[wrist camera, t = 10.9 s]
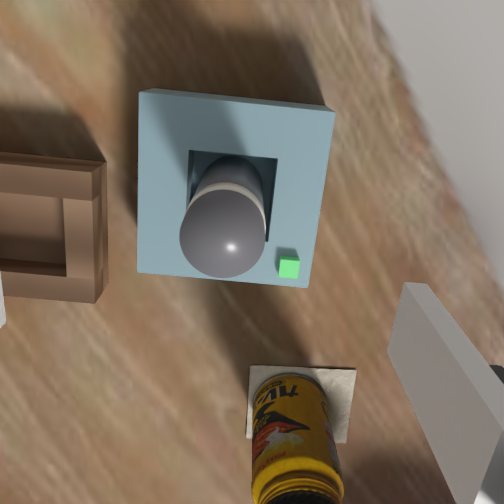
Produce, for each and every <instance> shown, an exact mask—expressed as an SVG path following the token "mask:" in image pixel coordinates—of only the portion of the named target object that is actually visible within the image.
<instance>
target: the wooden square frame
mask: <svg viewBox="0 0 504 504" xmlns="http://www.w3.org/2000/svg"><path fill="white" fill-rule="evenodd" d="M0 273H1V281H2V290H3V296H14V297H25V298H37V299H48V300H59V301H70V302H82V303H93V304H95V303H96V301H97V300H98V298H99V297H100V295H101V294H102V292H103V291H104V289H105V287H106V286H107V284H108V228H107V162H102V161H92V160H82V159H71V158H61V157H51V156H41V155H31V154H21V153H10V152H0Z"/></svg>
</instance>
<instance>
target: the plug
mask: <svg viewBox="0 0 504 504" xmlns="http://www.w3.org/2000/svg"><path fill="white" fill-rule="evenodd" d="M265 233H266V224H265V214H264V207H263V190H262V180H261V176H260V174H259V172H258V170H257V169H256V167H255V166H254V165H253V164H252V163H251V162H249V161H248V160H246V159H244V158H241V157H238V156H225V157H221V158H219V159H217V160H215V161H214V162H212V163H211V164H210V165H209V166H208V167H207V169H206V170H205V172H204V174H203V177H202V179H201V181H200V183H199V186H198V188H197V190H196V192H195V194H194V197H193V198H192V200H191V202H190V203H189V205H188V208H187V210H186V212H185V215H184V218H183V222H182V224H181V227H180V233H179V241H180V246H181V250H182V252H183V254H184V256H185V258H186V259H187V261H188V262H189V263H190V264H191V265H192V266H193V267H194V268H195V269H197V270H198V271H200V272H202V273H203V274H206V275H208V276H212V277H216V278H231V277H235V276H238V275H241V274H243V273H245V272H247V271H248V270H250V269H251V268H252V267H253V266H254V265H255V264H256V263H257V262H258V260H259V259H260V257H261V255H262V253H263V250H264V246H265Z"/></svg>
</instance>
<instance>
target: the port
mask: <svg viewBox="0 0 504 504" xmlns="http://www.w3.org/2000/svg"><path fill="white" fill-rule="evenodd" d="M335 113H336V112H335V111H333V110H331V109H330V108H328V107H327V106H323V105H313V104H304V103H294V102H284V101H275V100H265V99H255V98H246V97H236V96H226V95H217V94H207V93H197V92H188V91H178V90H168V89H159V88H151V89H148V90H144V91H140V92H139V131H138V234H137V272H139V273H150V274H161V275H172V276H183V277H194V278H205V279H216V280H227V281H238V282H249V283H260V284H271V285H282V286H293V287H304V288H308V284H309V278H310V271H311V265H312V259H313V252H314V246H315V240H316V233H317V227H318V221H319V214H320V208H321V202H322V195H323V189H324V183H325V176H326V170H327V164H328V157H329V151H330V145H331V138H332V132H333V126H334V119H335ZM225 156H238V157H241V158H244V159H246V160H248V161H249V162H251V163H252V164H253V165H254V166H255V167H256V169H257V170H258V172H259V174H260V176H261V180H262V190H263V207H264V214H265V224H266V233H265V246H264V250H263V253H262V255H261V257H260V259H259V260H258V262H257V263H256V264H255V265H254V266H253V267H252V268H251V269H250V270H248V271H247V272H245V273H243V274H241V275H238V276H235V277H231V278H216V277H212V276H208V275H206V274H203V273H202V272H200V271H198V270H197V269H195V268H194V267H193V266H192V265H191V264H190V263H189V262H188V261H187V259H186V258H185V256H184V254H183V252H182V250H181V246H180V241H179V233H180V227H181V224H182V222H183V218H184V215H185V212H186V210H187V208H188V205H189V203H190V202H191V200H192V198H193V197H194V194H195V192H196V190H197V188H198V186H199V183H200V181H201V179H202V177H203V174H204V172H205V170H206V169H207V167H208V166H209V165H210V164H211V163H212V162H214V161H215V160H217V159H219V158H221V157H225Z"/></svg>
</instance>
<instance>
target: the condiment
mask: <svg viewBox="0 0 504 504" xmlns="http://www.w3.org/2000/svg"><path fill="white" fill-rule="evenodd" d="M356 372H357V370H341V369H334V370H332V369H316V368H304V367H285V366H264V365H263V366H261V365H254V366H250V377H249V395H248V414H247V433H246V438H252V483H251V485H252V486H251V489H252V496H253V501H254V503H255V504H342V499H343V496H344V485H343V479H342V474H341V469H340V463H339V460H338V456H337V450H336V446H335V443H346V440H347V431H348V424H349V417H350V410H351V403H352V401H351V400H352V397H353V391H354V383H355V378H356ZM323 387H325V389H324V388H323ZM327 389H329V390H330V392H328V391H327Z"/></svg>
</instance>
